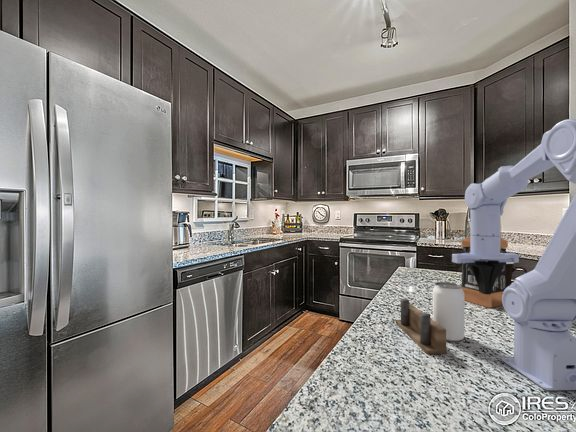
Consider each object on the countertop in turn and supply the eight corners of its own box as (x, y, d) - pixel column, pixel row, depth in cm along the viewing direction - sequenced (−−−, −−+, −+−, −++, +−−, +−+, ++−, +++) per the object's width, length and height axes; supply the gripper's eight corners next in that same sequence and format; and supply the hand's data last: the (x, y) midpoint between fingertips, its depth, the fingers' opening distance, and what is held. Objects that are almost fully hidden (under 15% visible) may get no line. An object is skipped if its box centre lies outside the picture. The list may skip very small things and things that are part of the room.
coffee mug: (479, 286, 108) (479, 260, 108) (495, 284, 110) (495, 259, 110) (511, 294, 97) (511, 266, 96) (528, 292, 99) (529, 264, 99)
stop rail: (446, 353, 58) (446, 319, 57) (426, 354, 57) (426, 320, 57) (410, 322, 74) (410, 296, 73) (395, 322, 73) (395, 296, 73)
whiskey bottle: (510, 304, 87) (511, 201, 87) (489, 308, 83) (490, 201, 83) (477, 295, 97) (477, 202, 96) (457, 298, 93) (457, 202, 93)
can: (469, 343, 62) (469, 289, 62) (437, 340, 63) (437, 288, 63) (458, 331, 68) (458, 282, 68) (429, 328, 70) (429, 280, 69)
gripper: (502, 233, 70) (502, 288, 70) (444, 234, 69) (444, 289, 69) (526, 236, 62) (526, 296, 63) (462, 236, 62) (462, 297, 62)
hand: (485, 293), depth 66 cm, fingers closed
